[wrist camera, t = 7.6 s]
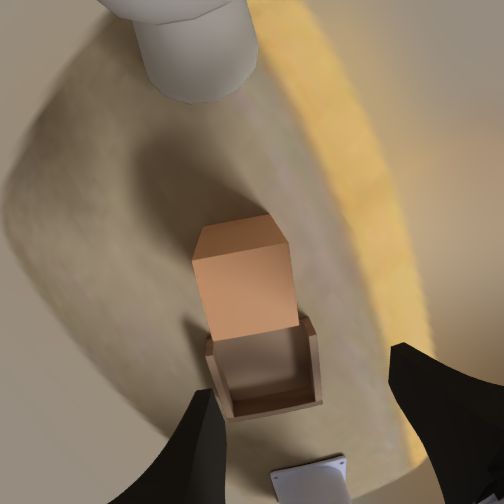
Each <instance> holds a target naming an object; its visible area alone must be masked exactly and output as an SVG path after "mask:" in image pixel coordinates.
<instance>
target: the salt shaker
mask: <svg viewBox="0 0 504 504" xmlns="http://www.w3.org/2000/svg"><path fill="white" fill-rule="evenodd" d="M98 1H99V2H100V3H101V4H103V5H104V6H105V7H106V8H108V9H109V10H110V11H112V12H113V13H114V14H115V15H117V16H118V17H119V18H122V19H128V20H132V23H133V27H134V30H135V34H136V38H137V41H138V45H139V48H140V52H141V55H142V59H143V62H144V66H145V69H146V73H147V76H148V79H149V81H150V82H151V83H152V84H153V85H154V86H155V87H156V88H157V89H158V90H159V91H161V92H162V93H163V94H164V95H165V96H166V97H169V98H172V99H175V100H178V101H182V102H185V103H188V104H199V103H207V102H217V101H219V100H220V99H222V98H224V97H226V96H228V95H229V94H231V93H233V92H235V91H237V90H239V89H240V88H241V86H242V85H243V84H244V82H245V81H246V80H247V78H248V77H249V76H250V74H251V73H252V72H253V71H254V69H255V65H256V60H257V54H258V49H259V44H258V41H257V37H256V33H255V29H254V26H253V22H252V18H251V15H250V11H249V8H248V4H247V1H246V0H98Z"/></svg>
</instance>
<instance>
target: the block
mask: <svg viewBox="0 0 504 504" xmlns="http://www.w3.org/2000/svg"><path fill="white" fill-rule="evenodd" d="M192 264H193V268H194V272H195V276H196V280H197V284H198V288H199V292H200V295H201V299H202V303H203V307H204V310H205V314H206V318H207V321H208V325H209V328H210V332H211V336H212V339H213V341H218V340H224V339H230V338H236V337H242V336H247V335H253V334H258V333H264V332H269V331H274V330H279V329H284V328H289V327H294V326H299V319H298V311H297V303H296V296H295V288H294V281H293V273H292V266H291V259H290V252H289V245H288V241H287V240H286V238H285V237H284V235H283V234H282V232H281V230H280V229H279V227H278V226H277V224H276V223H275V221H274V220H273V218H272V216H271V215H270V214H266V215H261V216H255V217H250V218H245V219H239V220H234V221H229V222H224V223H218V224H213V225H208V226H203V227H202V230H201V233H200V236H199V239H198V242H197V245H196V248H195V252H194V255H193V258H192Z"/></svg>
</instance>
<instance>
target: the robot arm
mask: <svg viewBox="0 0 504 504" xmlns="http://www.w3.org/2000/svg"><path fill="white" fill-rule="evenodd" d="M388 383H389V386H390V388H391V390H392V393H393V395H394V397H395V399H396V401H397V403H398V405H399V406H400V408H401V409H402V411H403V413H404V414H405V416H406V417H407V419H408V421H409V422H410V424H411V425H412V427H413V428H414V430H415V432H416V433H417V435H418V436H419V438H420V440H421V442H422V443H423V445H424V447H425V449H426V452H427V454H428V456H429V459H430V461H431V463H432V466H433V468H434V471H435V473H436V476H437V478H438V481H439V484H440V487H441V490H442V493H443V497H444V500H445V504H504V386H501V385H497V384H492V383H489V382H485V381H482V380H479V379H476V378H473V377H470V376H468V375H466V374H463V373H461V372H459V371H457V370H454V369H452V368H450V367H448V366H446V365H444V364H442V363H440V362H438V361H437V360H435V359H433V358H431V357H429V356H428V355H426V354H424V353H422V352H421V351H419V350H417V349H415V348H414V347H412V346H410V345H408V344H406V343H404V342H403V343H400V344H397V345H394V346H391V353H390V367H389V380H388ZM226 448H227V442H226V430H225V421H224V419H223V416H222V414H221V411H220V409H219V406H218V403H217V401H216V398H215V396H214V393H213V390H212V388H211V389H204V390H197V391H196V392H195V393H194V396H193V398H192V400H191V402H190V404H189V406H188V408H187V410H186V412H185V414H184V416H183V418H182V419H181V421H180V423H179V425H178V427H177V428H176V430H175V432H174V433H173V435H172V437H171V438H170V440H169V441H168V443H167V444H166V446H165V447H164V449H163V450H162V451H161V453H160V454H159V455H158V457H157V458H156V459H155V460H154V462H153V463H152V464H151V465H150V467H149V468H148V469H147V470H146V471H145V472H144V473H143V474H142V475H141V476H140V477H139V478H138V479H137V480H136V481H135V482H134V483H133V484H132V485H131V486H130V487H128V488H127V489H126V490H125V491H124V492H123V493H121V494H120V495H119V496H118V497H116V498H115V499H114V500H112V501H111V502H109V503H108V504H225V472H226ZM345 476H346V456H339V457H336V458H332V459H328V460H324V461H320V462H316V463H312V464H308V465H303V466H299V467H294V468H289V469H283V470H278V471H273V472H271V473H270V477H271V480H272V483H273V486H274V488H275V491H276V494H277V497H278V500H279V503H280V504H352V502H351V499H350V496H349V493H348V490H347V487H346V484H345Z"/></svg>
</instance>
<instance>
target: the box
mask: <svg viewBox="0 0 504 504" xmlns="http://www.w3.org/2000/svg"><path fill="white" fill-rule="evenodd" d="M205 358H206V361H207V364H208V367H209V369H210V372H211V375H212V378H213V381H214V384H215V386H216V389H217V392H218V395H219V398H220V400H221V403H222V406H223V408H224V411H225V414H226V416H227V419H228V421H229V422H236V421H242V420H249V419H255V418H261V417H266V416H271V415H277V414H282V413H287V412H291V411H296V410H300V409H305V408H309V407H313V406H317V405H321V404H323V400H322V387H321V375H320V363H319V352H318V342H317V334H316V332H315V330H314V327H313V325H312V323H311V321H310V319H309V317H308V318H303V319H299V326H294V327H289V328H284V329H279V330H274V331H269V332H264V333H258V334H253V335H247V336H242V337H236V338H230V339H224V340H218V341H213V339H212V337H207V341H206V352H205Z"/></svg>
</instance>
